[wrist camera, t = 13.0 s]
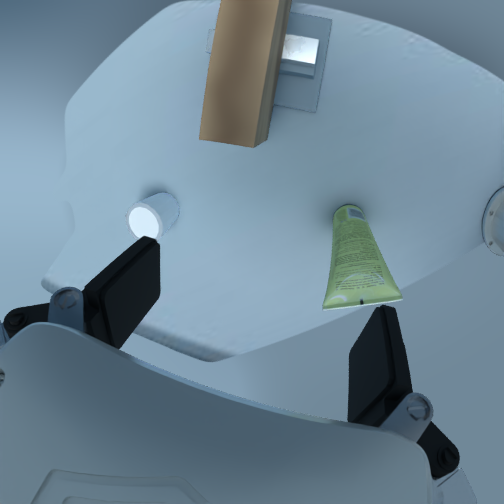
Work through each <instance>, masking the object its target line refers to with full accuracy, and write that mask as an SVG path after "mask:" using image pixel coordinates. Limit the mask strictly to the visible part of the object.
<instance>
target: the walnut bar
mask: <svg viewBox="0 0 504 504" xmlns="http://www.w3.org/2000/svg"><path fill="white" fill-rule="evenodd" d="M291 2H292V0H221V3H220V8H219V13H218V18H217V23H216V28H215V33H214V39H213V44H212V50H211V56H210V62H209V68H208V75H207V81H206V88H205V95H204V102H203V110H202V118H201V126H200V135H199V140H207V141H214V142H221V143H227V144H233V145H239V146H245V147H251V148H254V147H256V146H257V145H259V144H261V143H262V142H264V141H266V140H267V138H268V132H269V127H270V121H271V115H272V109H273V104H274V98H275V92H276V87H277V81H278V75H279V70H280V64H281V58H282V53H283V47H284V41H285V36H286V30H287V25H288V19H289V13H290V8H291Z"/></svg>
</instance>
